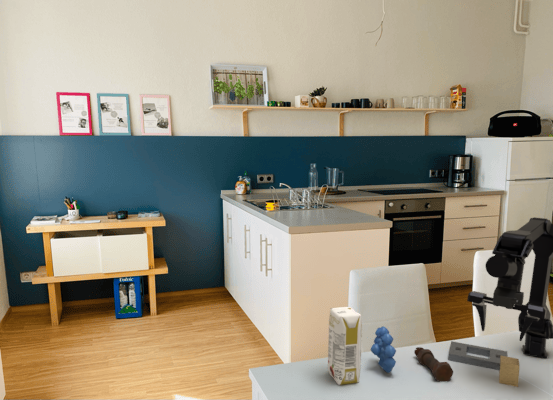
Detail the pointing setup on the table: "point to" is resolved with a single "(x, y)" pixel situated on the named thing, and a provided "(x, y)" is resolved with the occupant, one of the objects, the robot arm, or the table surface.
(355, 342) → the juice carton
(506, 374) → the wooden block
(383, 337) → the grapes
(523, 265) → the robot arm
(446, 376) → the bolt
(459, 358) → the grey slotted plate
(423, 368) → the table surface
